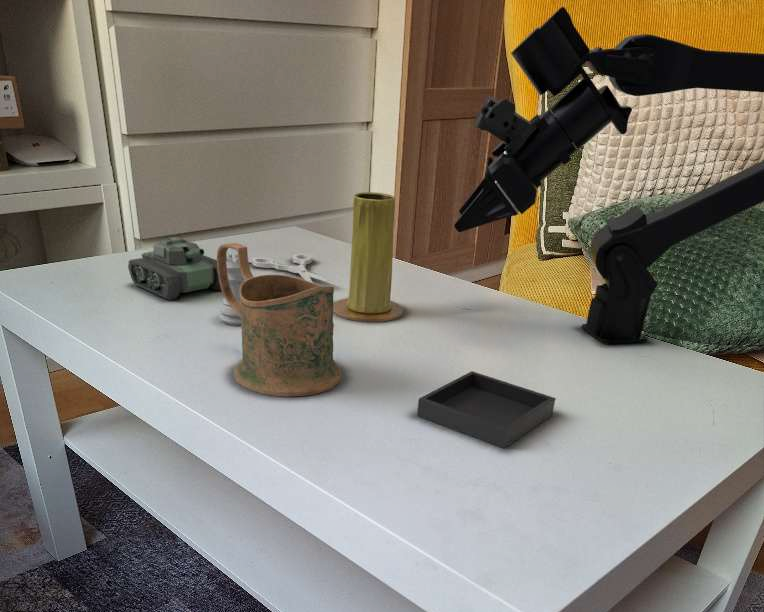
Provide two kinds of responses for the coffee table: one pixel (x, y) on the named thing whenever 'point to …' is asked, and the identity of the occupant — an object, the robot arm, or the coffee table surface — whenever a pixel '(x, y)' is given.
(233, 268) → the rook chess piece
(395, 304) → the coaster
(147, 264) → the toy tank
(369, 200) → the vase
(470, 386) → the black tray
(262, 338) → the mug
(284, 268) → the scissors
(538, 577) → the coffee table surface
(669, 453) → the coffee table surface
